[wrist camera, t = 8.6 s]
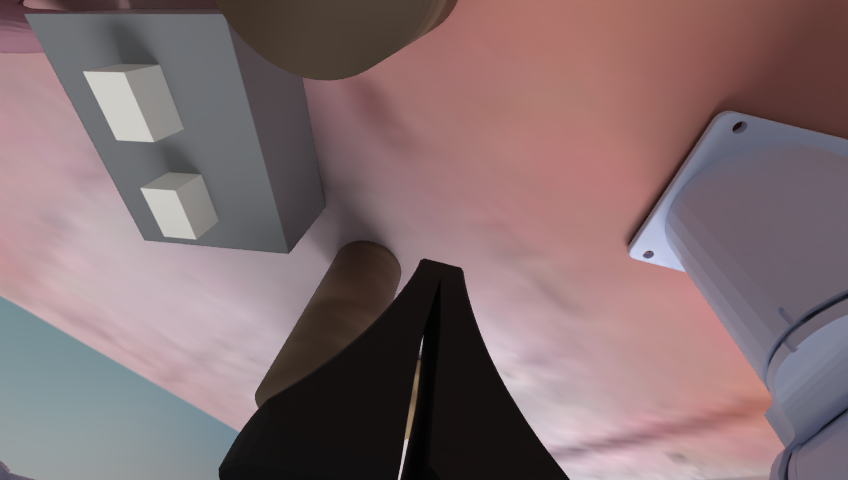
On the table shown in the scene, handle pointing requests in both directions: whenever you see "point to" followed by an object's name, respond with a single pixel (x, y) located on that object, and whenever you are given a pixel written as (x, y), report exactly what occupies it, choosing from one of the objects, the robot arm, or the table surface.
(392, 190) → the table surface
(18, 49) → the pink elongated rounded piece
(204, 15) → the block
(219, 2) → the walnut post
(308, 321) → the walnut post
